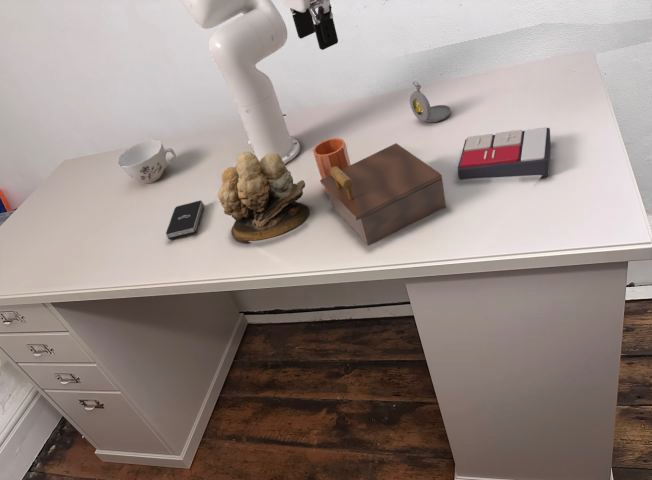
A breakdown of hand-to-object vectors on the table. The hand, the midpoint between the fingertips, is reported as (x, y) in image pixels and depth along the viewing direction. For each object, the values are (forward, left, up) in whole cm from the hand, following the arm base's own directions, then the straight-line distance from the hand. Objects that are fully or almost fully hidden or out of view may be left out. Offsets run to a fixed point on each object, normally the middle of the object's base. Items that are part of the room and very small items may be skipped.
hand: (317, 40), depth 89 cm
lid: (+11, -3, -23) cm, 26 cm away
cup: (-3, -1, -30) cm, 31 cm away
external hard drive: (-28, -27, -31) cm, 49 cm away
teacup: (-58, -19, -31) cm, 68 cm away
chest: (+11, -3, -30) cm, 32 cm away
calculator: (+22, +18, -31) cm, 42 cm away
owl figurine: (-8, -17, -31) cm, 36 cm away
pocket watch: (-3, +28, -31) cm, 42 cm away
